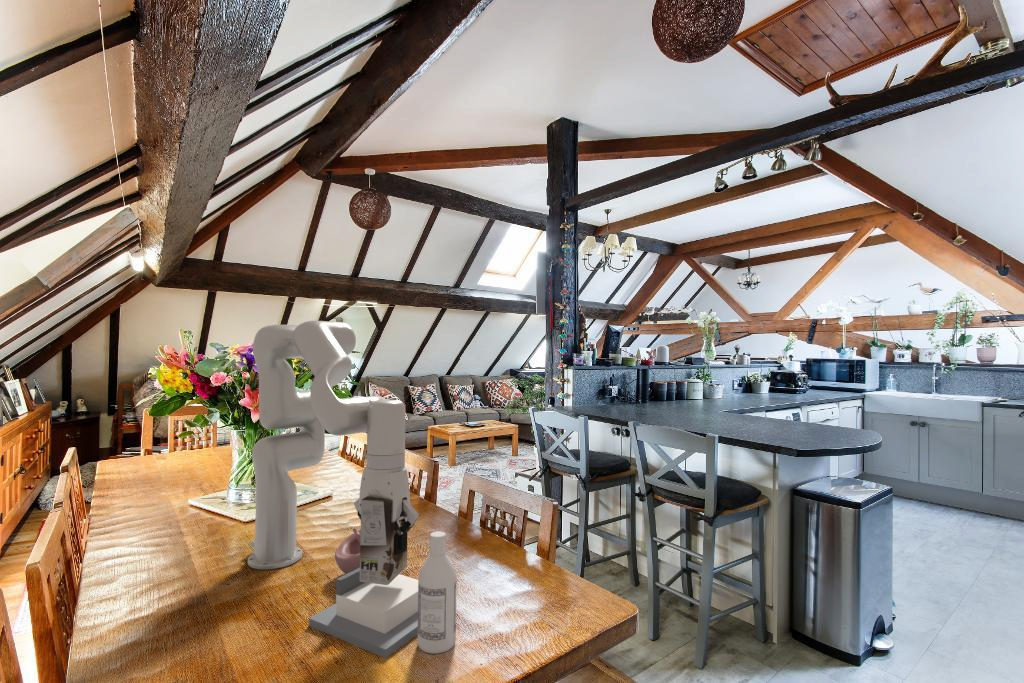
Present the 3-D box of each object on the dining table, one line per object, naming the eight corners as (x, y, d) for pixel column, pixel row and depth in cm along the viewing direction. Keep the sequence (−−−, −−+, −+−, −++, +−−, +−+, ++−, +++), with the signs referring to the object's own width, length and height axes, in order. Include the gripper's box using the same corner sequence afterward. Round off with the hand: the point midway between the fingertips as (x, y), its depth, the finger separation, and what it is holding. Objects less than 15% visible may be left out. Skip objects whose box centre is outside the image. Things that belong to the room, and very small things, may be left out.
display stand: (308, 626, 97) (309, 581, 97) (382, 584, 114) (383, 547, 114) (385, 658, 87) (386, 609, 87) (453, 607, 104) (454, 566, 104)
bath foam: (438, 628, 96) (439, 524, 97) (463, 642, 92) (464, 533, 92) (409, 644, 91) (411, 534, 91) (434, 660, 86) (436, 544, 87)
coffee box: (389, 586, 95) (390, 501, 96) (358, 582, 97) (359, 499, 97) (408, 565, 104) (409, 488, 105) (380, 563, 106) (381, 486, 106)
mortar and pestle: (327, 572, 120) (328, 524, 120) (375, 559, 127) (375, 514, 128) (344, 591, 111) (345, 539, 111) (395, 577, 118) (395, 528, 118)
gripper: (341, 459, 102) (340, 546, 102) (406, 470, 93) (405, 564, 93) (368, 453, 109) (367, 534, 108) (431, 462, 100) (430, 550, 100)
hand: (384, 547), depth 101 cm, fingers closed on coffee box, 7 cm apart
